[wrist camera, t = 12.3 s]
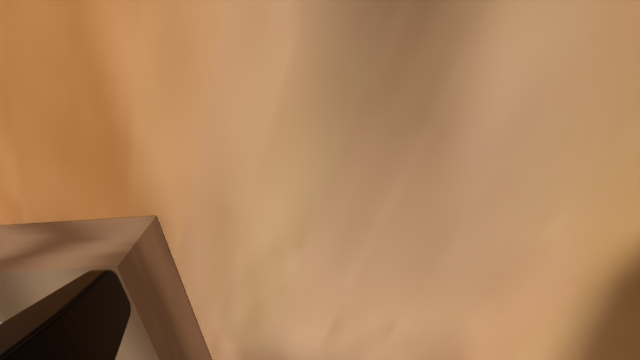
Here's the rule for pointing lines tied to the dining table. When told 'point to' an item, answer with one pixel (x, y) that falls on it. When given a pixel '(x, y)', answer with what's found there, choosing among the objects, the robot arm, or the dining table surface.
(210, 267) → the dining table surface
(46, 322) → the robot arm
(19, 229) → the walnut base block
